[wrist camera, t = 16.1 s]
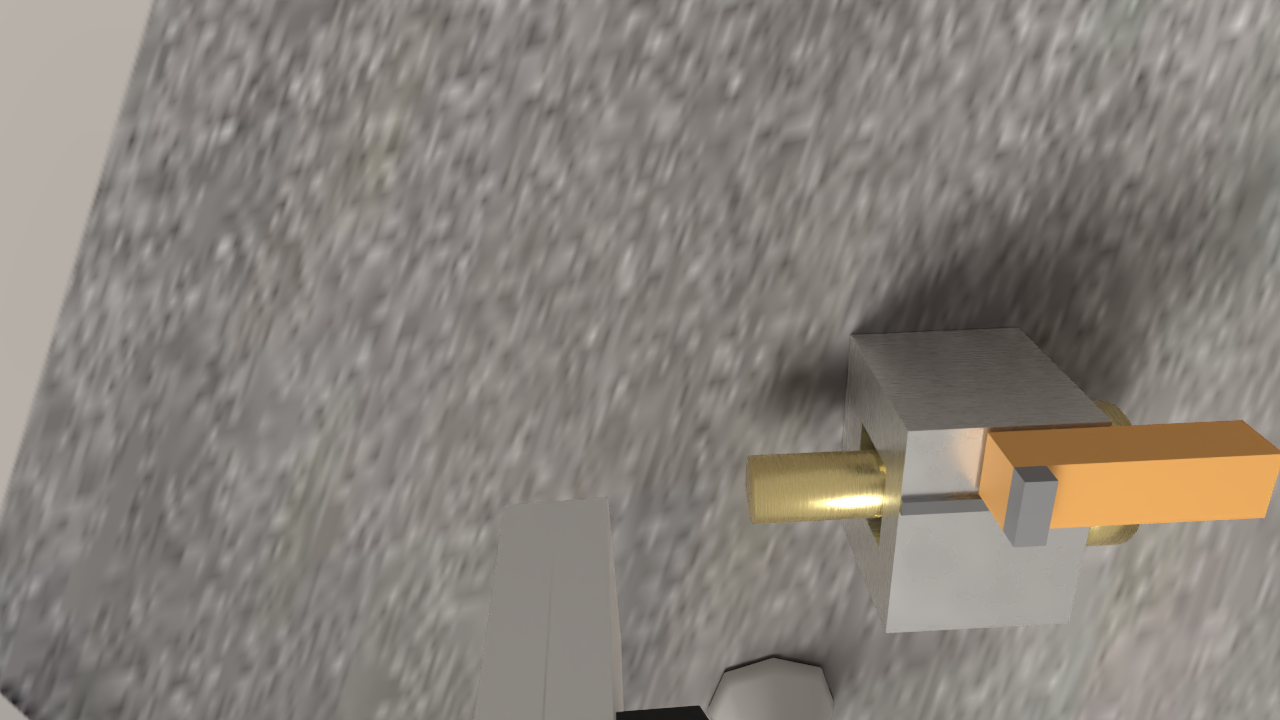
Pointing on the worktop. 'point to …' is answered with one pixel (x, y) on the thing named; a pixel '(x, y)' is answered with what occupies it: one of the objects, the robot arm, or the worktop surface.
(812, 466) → the pin
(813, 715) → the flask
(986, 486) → the bar
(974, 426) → the block
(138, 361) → the worktop surface
